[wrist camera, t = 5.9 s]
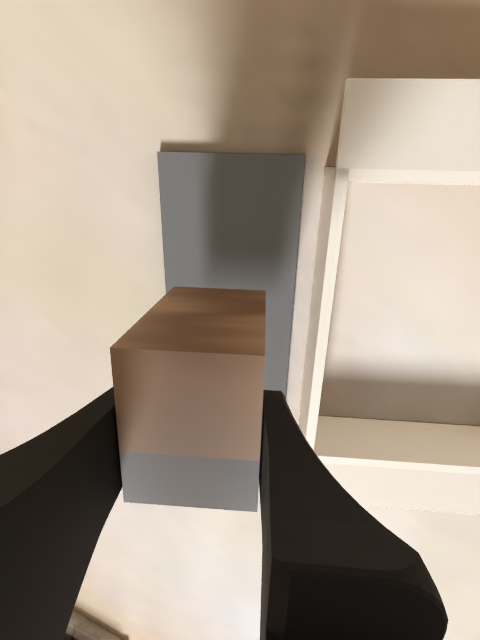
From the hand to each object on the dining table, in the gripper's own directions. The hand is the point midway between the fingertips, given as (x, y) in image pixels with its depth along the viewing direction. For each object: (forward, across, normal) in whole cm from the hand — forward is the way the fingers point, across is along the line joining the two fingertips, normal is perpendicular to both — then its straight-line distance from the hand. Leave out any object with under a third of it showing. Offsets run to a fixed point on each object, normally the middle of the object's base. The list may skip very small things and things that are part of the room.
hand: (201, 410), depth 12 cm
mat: (+9, 0, 0) cm, 9 cm away
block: (+5, 0, 0) cm, 5 cm away
